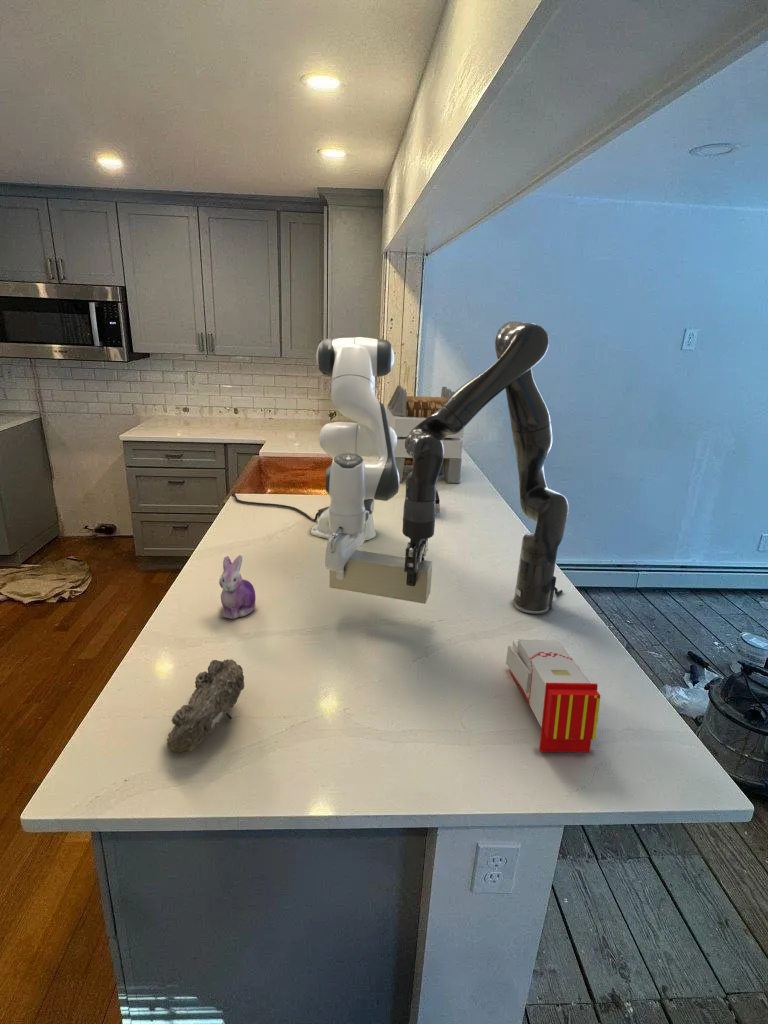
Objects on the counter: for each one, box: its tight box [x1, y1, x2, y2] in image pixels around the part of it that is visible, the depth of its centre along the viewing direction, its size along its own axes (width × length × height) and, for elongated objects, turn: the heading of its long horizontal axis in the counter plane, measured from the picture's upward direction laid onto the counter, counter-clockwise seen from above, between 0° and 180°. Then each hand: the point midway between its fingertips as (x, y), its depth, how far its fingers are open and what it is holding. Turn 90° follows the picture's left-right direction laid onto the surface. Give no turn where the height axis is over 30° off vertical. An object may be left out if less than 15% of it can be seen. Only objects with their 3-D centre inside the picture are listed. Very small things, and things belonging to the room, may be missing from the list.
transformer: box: [386, 384, 465, 484], centre depth 268 cm, size 34×33×41 cm
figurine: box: [218, 554, 256, 619], centre depth 143 cm, size 9×10×15 cm
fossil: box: [166, 658, 245, 754], centre depth 106 cm, size 22×10×15 cm
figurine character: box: [435, 489, 441, 517], centre depth 221 cm, size 7×8×15 cm
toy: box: [505, 638, 602, 753], centre depth 114 cm, size 12×13×30 cm
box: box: [328, 549, 434, 605], centre depth 141 cm, size 25×6×9 cm, turn 74°
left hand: (345, 572), depth 143 cm, fingers closed on box, 6 cm apart
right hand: (415, 577), depth 138 cm, fingers open, 8 cm apart
